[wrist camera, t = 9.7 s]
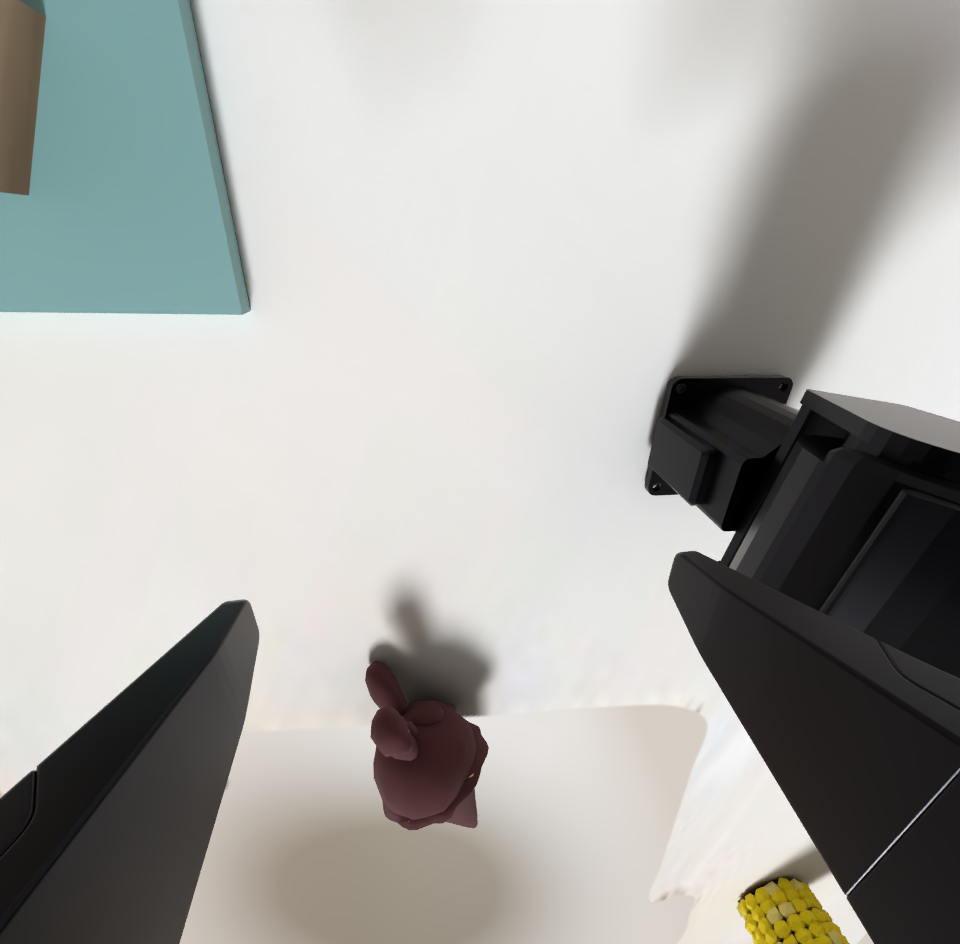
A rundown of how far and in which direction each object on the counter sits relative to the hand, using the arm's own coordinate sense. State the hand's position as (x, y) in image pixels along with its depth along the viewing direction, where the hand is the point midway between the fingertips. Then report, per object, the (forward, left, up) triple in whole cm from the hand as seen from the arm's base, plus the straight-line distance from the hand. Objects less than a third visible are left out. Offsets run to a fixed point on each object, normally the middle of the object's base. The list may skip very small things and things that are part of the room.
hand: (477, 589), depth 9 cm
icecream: (+1, +23, -13) cm, 27 cm away
